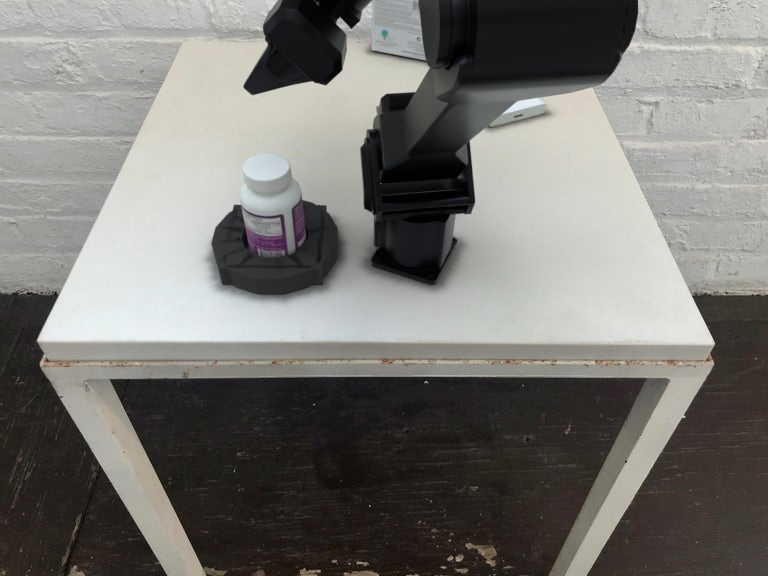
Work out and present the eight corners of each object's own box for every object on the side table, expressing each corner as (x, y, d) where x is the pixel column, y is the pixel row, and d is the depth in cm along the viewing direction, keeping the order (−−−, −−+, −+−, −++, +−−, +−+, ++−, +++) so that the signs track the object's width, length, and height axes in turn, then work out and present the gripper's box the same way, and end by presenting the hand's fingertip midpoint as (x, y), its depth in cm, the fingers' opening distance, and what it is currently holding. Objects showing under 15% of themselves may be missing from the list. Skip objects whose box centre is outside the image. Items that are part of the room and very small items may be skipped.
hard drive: (490, 70, 85) (545, 113, 77) (438, 82, 82) (489, 128, 75) (492, 59, 84) (547, 101, 76) (439, 70, 81) (491, 116, 73)
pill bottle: (283, 224, 61) (272, 140, 54) (318, 250, 59) (312, 165, 52) (238, 250, 59) (221, 164, 52) (273, 278, 56) (260, 193, 49)
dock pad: (339, 213, 63) (339, 197, 61) (335, 294, 55) (334, 278, 53) (226, 212, 63) (223, 196, 61) (206, 294, 55) (201, 278, 53)
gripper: (321, -182, 50) (211, -41, 58) (280, -125, 37) (146, 46, 45) (413, -71, 56) (300, 44, 64) (405, 14, 43) (265, 144, 51)
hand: (258, 65), depth 56 cm, fingers open, 9 cm apart
